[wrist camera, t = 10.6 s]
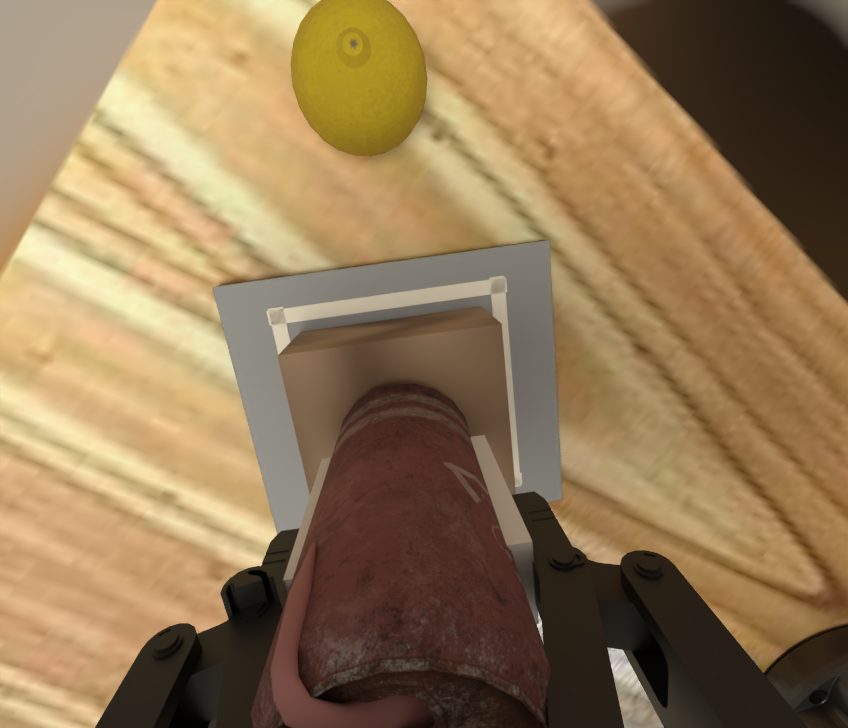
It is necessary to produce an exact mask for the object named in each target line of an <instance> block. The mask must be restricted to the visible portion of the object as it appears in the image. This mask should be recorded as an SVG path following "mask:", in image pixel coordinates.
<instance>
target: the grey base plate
mask: <svg viewBox="0 0 848 728" xmlns="http://www.w3.org/2000/svg"><path fill="white" fill-rule="evenodd" d="M212 288H213V292H214V296H215V300H216V303H217V307H218V311H219V315H220V319H221V322H222V326H223V330H224V334H225V337H226V341H227V345H228V349H229V353H230V356H231V360H232V364H233V368H234V372H235V375H236V379H237V383H238V387H239V391H240V394H241V398H242V402H243V406H244V410H245V413H246V417H247V421H248V425H249V429H250V432H251V436H252V440H253V444H254V447H255V451H256V455H257V459H258V463H259V466H260V470H261V474H262V478H263V482H264V485H265V489H266V493H267V497H268V501H269V504H270V508H271V512H272V516H273V520H274V523H275V527H276V531H277V535H278V534H279V533H280V531H285V530H291V529H298V528H300V526H301V522H302V519H303V516H304V513H305V510H306V507H307V504H308V501H309V498H310V494H309V490H308V485H307V481H306V477H305V472H304V468H303V464H302V460H301V455H300V451H299V447H298V442H297V438H296V434H295V429H294V425H293V421H292V417H291V412H290V408H289V404H288V399H287V395H286V391H285V387H284V382H283V378H282V374H281V369H280V365H279V361H278V355H279V354H280V353H281V351H282V350H283V349H284V348H285V347H286V346H287V345H288V344H289V343H290V342H291V341H292V340H293V339H294V338H295V337H296V336H297V335H298V334H299V333H300V332H305V331H312V330H319V329H326V328H333V327H340V326H347V325H354V324H361V323H368V322H375V321H382V320H389V319H396V318H403V317H410V316H417V315H424V314H431V313H438V312H445V311H452V310H460V309H467V308H474V307H482V308H483V309H485V310H486V311H487V312H488V313H489V314H491V315H492V316H493V317H494V318H495V319H497V320H498V321H499V322H500V323H501V324H502V334H503V346H504V357H505V369H506V381H507V393H508V405H509V417H510V429H511V441H512V452H513V464H514V476H515V488H516V494H520V493H526V492H533V491H535V492H536V493H537V494H539V495H540V496H542V497H543V498H545V500H546V501H547V502H551V501H557V500H563V499H562V479H561V459H560V440H559V420H558V400H557V381H556V361H555V341H554V322H553V302H552V282H551V263H550V243H549V241H547V240H542V241H535V242H528V243H521V244H514V245H507V246H499V247H492V248H485V249H478V250H471V251H463V252H456V253H449V254H442V255H435V256H427V257H420V258H413V259H406V260H399V261H391V262H384V263H377V264H370V265H363V266H355V267H348V268H341V269H334V270H327V271H319V272H312V273H305V274H298V275H291V276H283V277H276V278H269V279H262V280H255V281H247V282H240V283H233V284H226V285H219V286H216V287H212Z"/></svg>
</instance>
